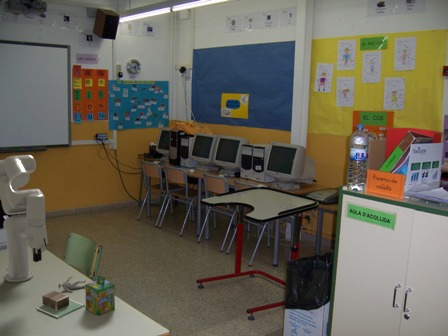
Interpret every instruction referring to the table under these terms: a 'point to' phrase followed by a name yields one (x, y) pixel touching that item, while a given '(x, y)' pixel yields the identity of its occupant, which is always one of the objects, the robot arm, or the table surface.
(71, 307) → the mat
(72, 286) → the soldier figure
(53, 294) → the walnut block
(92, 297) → the chalk box
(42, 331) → the table surface
